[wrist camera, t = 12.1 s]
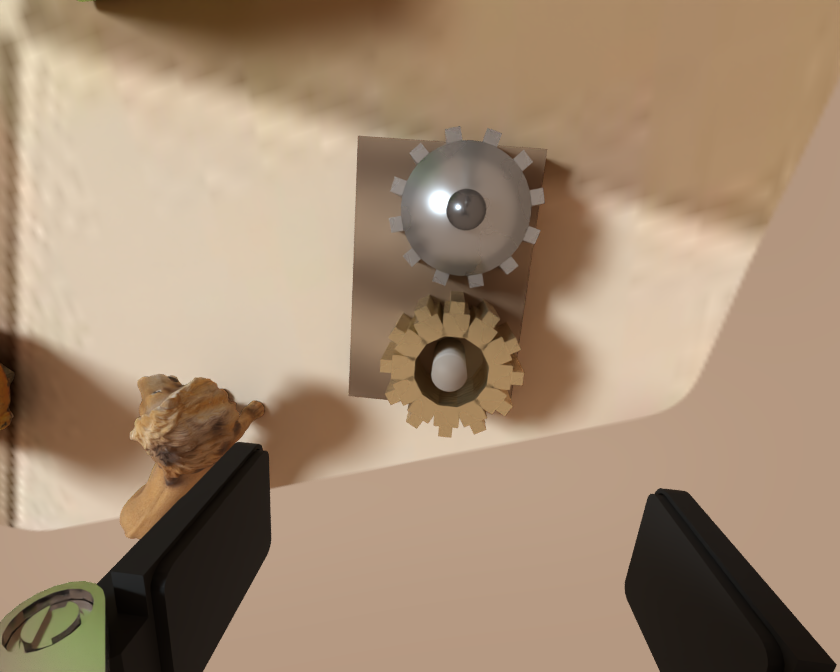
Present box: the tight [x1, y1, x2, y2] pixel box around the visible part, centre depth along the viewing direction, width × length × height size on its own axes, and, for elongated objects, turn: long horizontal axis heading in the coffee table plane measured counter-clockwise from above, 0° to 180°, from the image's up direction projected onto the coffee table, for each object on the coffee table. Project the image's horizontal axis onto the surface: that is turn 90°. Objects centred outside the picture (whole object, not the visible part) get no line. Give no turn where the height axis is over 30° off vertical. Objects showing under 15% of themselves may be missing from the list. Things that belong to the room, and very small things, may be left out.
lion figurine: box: [120, 374, 265, 539], centre depth 25 cm, size 15×5×9 cm, turn 155°
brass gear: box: [380, 291, 524, 437], centre depth 23 cm, size 7×7×4 cm
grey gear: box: [389, 126, 545, 288], centre depth 21 cm, size 7×7×4 cm
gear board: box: [349, 136, 547, 411], centre depth 23 cm, size 15×10×6 cm, turn 175°
